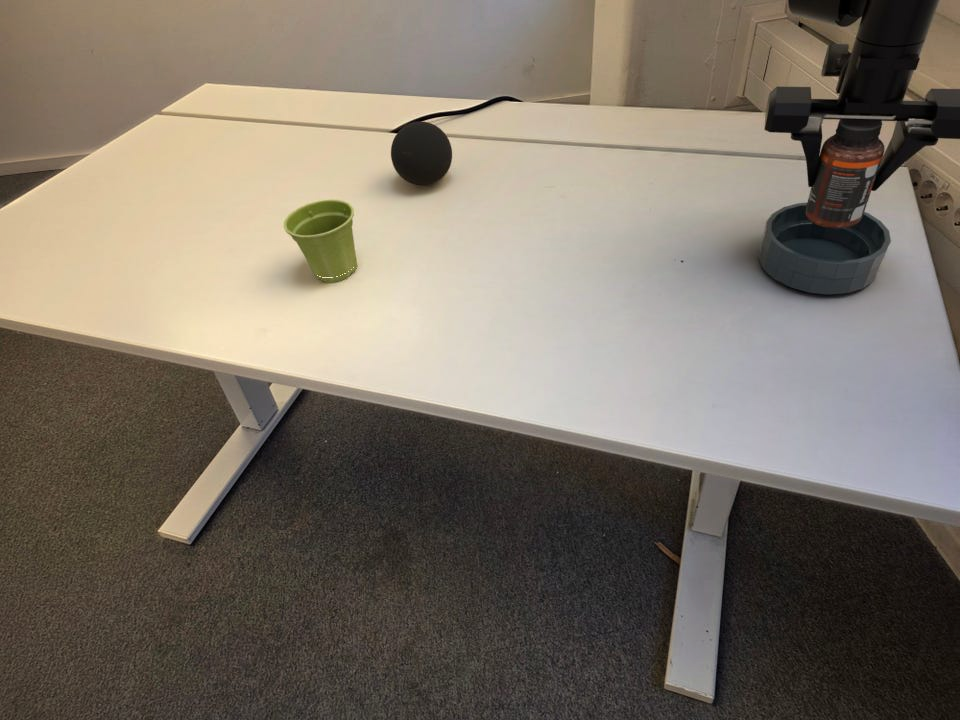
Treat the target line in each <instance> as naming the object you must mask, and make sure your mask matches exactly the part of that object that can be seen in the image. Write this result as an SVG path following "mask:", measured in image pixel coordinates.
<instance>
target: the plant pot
mask: <svg viewBox="0 0 960 720" xmlns="http://www.w3.org/2000/svg"><path fill="white" fill-rule="evenodd" d="M354 216H355V210H354V207H353V206H352V204H351V203H349V202H347V201H345V200H341V199H322V200H317V201H312V202H310V203H307V204H304V205H302V206H300V207H298V208H296V209H295V210H293V211H292V212H291V213H289V214H288V215H287V216H286V218H285V219H284V221H283V229H284V230H285V232H286V234H287V235H289V236H290V237H291V238H292V240H293V241H294V242H295V243H296V244H297V246H298V248H299V249H300V251H301V253H302V254H303V256H304V258H305V260H306V261H307V263H308V266H309V267H310V269H311V270H312V273H313V274H314V273H315V274H316V275H315V274H314V276H315V278H316V279H317V280H322V281H324V282H325V283H335V282H339V281H343V280H345V279H348V277H349V276H350V275H351V274H352V273H353V272H356V270H357V268H358V262H357V254H356V247H355V238H354V231H353V222H354V220H353V218H354ZM353 267H354V268H353ZM351 269H352V270H351ZM348 271H349V272H348ZM344 273H346V274H344ZM342 274H343V275H342ZM317 275H318V276H317ZM340 275H341V276H340ZM319 276H321V277H319ZM336 276H338V277H336ZM322 277H333V278H322Z"/></svg>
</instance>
